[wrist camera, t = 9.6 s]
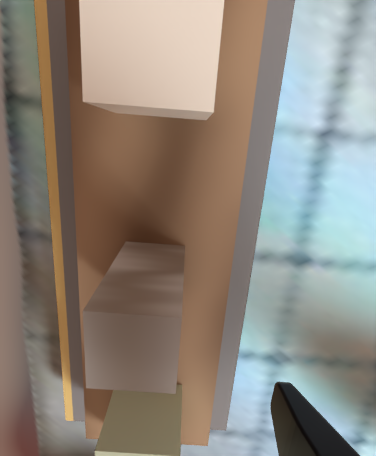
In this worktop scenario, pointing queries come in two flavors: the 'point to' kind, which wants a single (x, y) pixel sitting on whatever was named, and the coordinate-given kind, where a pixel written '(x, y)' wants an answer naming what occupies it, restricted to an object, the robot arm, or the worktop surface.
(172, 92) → the block
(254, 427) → the worktop surface
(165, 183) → the pallet
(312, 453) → the robot arm
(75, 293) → the dock
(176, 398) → the pale olive cube
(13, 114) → the worktop surface
